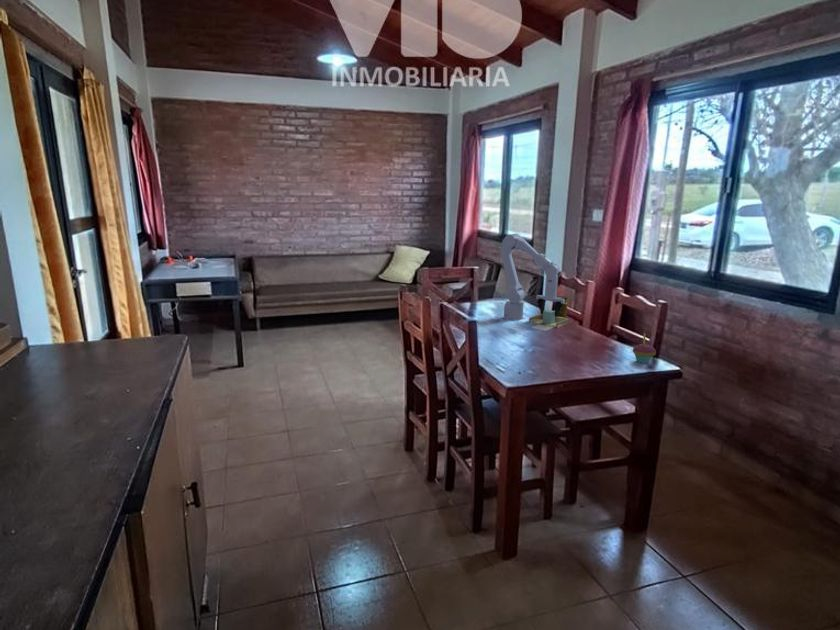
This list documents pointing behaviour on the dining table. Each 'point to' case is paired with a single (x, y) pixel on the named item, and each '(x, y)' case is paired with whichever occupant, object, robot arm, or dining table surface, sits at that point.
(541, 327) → the coaster
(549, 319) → the block
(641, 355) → the cupcake
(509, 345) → the dining table surface
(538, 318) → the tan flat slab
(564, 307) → the condiment
